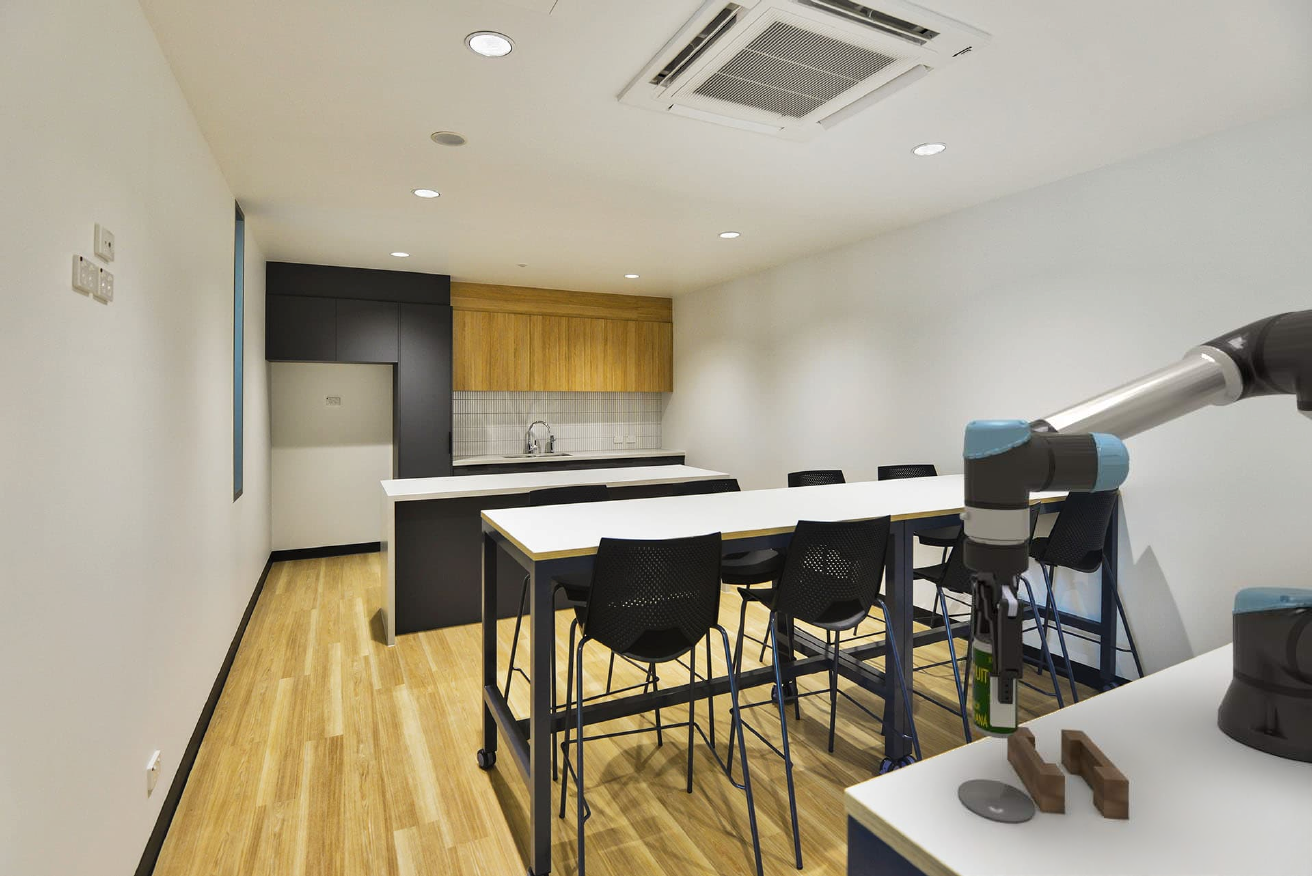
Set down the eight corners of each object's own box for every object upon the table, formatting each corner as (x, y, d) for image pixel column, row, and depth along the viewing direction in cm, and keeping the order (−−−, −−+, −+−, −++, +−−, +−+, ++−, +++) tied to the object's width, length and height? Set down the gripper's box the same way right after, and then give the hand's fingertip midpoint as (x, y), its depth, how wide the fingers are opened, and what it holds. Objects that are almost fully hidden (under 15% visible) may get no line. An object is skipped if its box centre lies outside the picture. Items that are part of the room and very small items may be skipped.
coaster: (1020, 785, 90) (1020, 782, 90) (1046, 826, 82) (1046, 822, 82) (950, 780, 92) (950, 776, 92) (968, 819, 83) (968, 815, 83)
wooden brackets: (1082, 764, 95) (1082, 730, 95) (1128, 819, 83) (1128, 780, 82) (1007, 759, 97) (1007, 725, 97) (1041, 812, 85) (1041, 774, 84)
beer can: (1001, 718, 89) (1001, 631, 89) (1027, 738, 84) (1028, 645, 84) (963, 721, 89) (963, 633, 88) (987, 741, 84) (987, 647, 83)
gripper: (947, 525, 95) (947, 684, 96) (986, 553, 77) (985, 747, 78) (1003, 526, 94) (1002, 687, 95) (1056, 554, 76) (1054, 752, 77)
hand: (994, 714), depth 86 cm, fingers closed on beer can, 5 cm apart
